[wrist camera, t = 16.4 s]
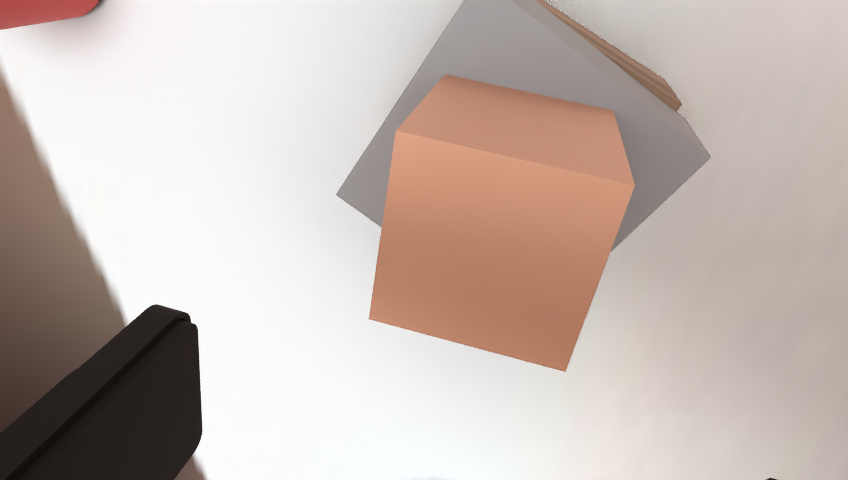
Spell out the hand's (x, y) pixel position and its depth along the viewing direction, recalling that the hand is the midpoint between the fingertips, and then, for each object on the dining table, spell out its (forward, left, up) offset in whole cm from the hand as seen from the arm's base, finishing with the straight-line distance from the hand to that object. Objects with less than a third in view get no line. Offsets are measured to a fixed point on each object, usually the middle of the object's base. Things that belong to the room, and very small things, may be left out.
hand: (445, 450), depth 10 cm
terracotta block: (0, 0, -14) cm, 14 cm away
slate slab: (0, 0, -19) cm, 19 cm away
